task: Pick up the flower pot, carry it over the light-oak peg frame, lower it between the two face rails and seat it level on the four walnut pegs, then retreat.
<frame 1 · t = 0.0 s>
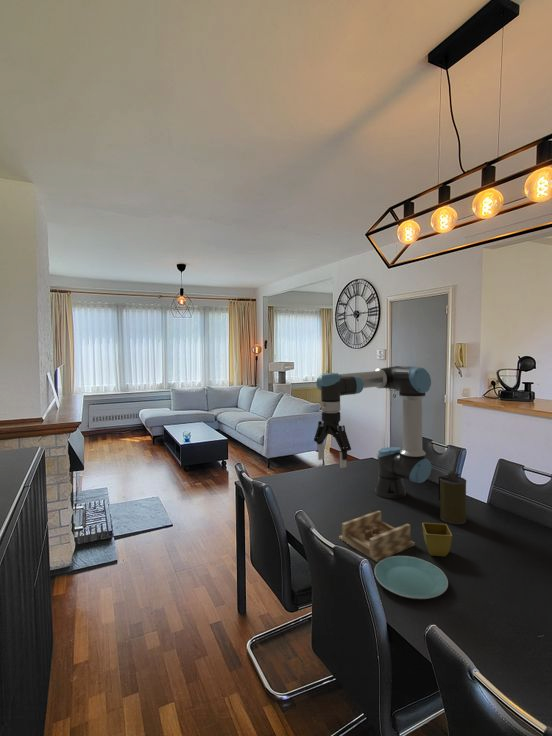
hand: (331, 463, 158), 28 cm above the table, fingers open, 13 cm apart
plate: (410, 583, 124), on the table
flower pot: (436, 553, 140), on the table
peg frame: (375, 541, 149), on the table
canister: (452, 519, 167), on the table
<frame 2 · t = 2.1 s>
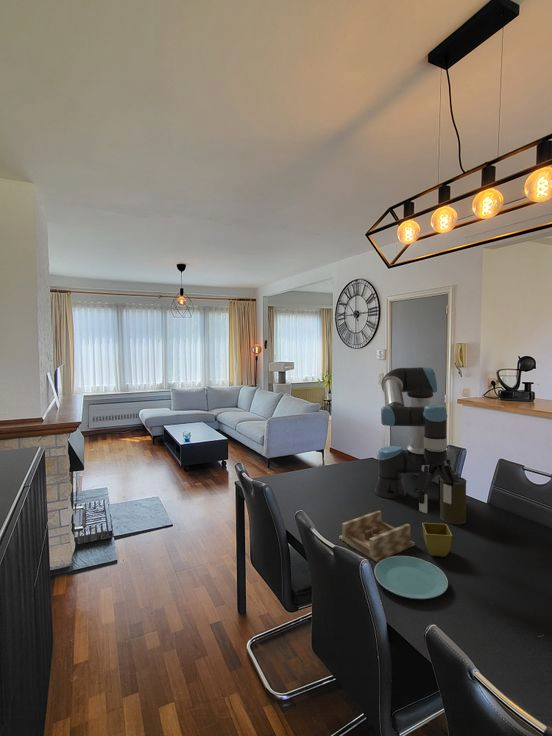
hand: (435, 507, 139), 17 cm above the table, fingers open, 13 cm apart
nothing on the table moved.
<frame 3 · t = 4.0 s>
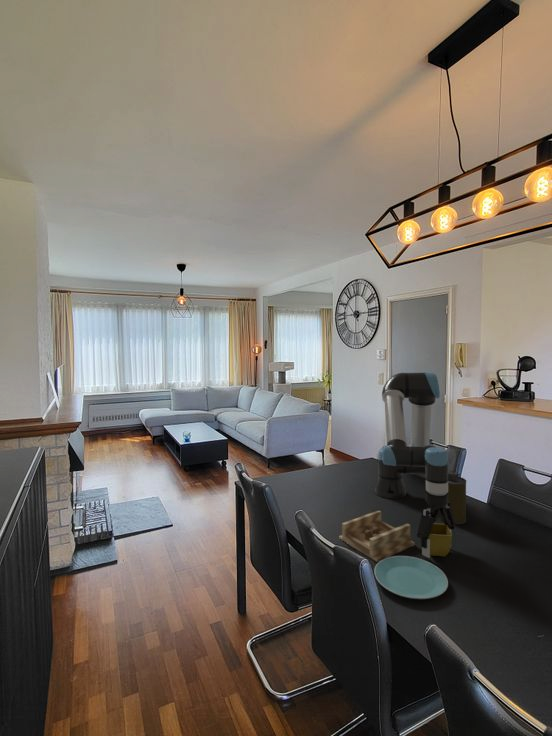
hand: (436, 550, 140), 1 cm above the table, fingers closed on flower pot, 12 cm apart
flower pot: (436, 553, 140), on the table, touching gripper
everything else where it was.
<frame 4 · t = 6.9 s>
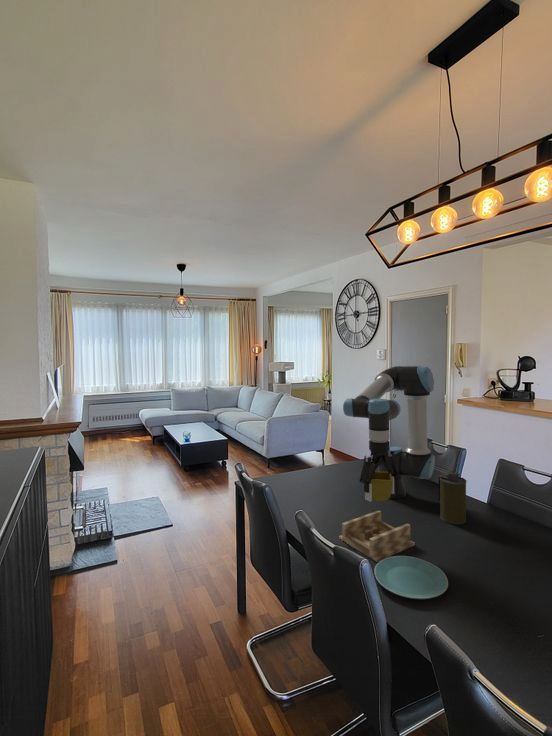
hand: (379, 496, 147), 18 cm above the table, fingers closed on flower pot, 12 cm apart
flower pot: (380, 499, 147), point 17 cm above the table, touching gripper
everything else where it was.
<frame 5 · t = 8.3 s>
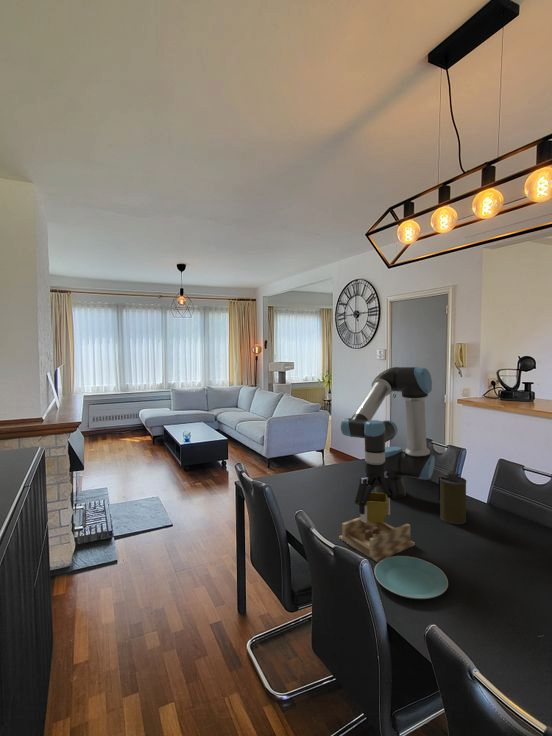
hand: (375, 517, 149), 10 cm above the table, fingers closed on flower pot, 12 cm apart
flower pot: (375, 520, 149), point 9 cm above the table, touching gripper
everything else where it was.
when the fingers open (6 cm above the table, at t = 9.6 s): flower pot drops 1 cm, resting on peg frame.
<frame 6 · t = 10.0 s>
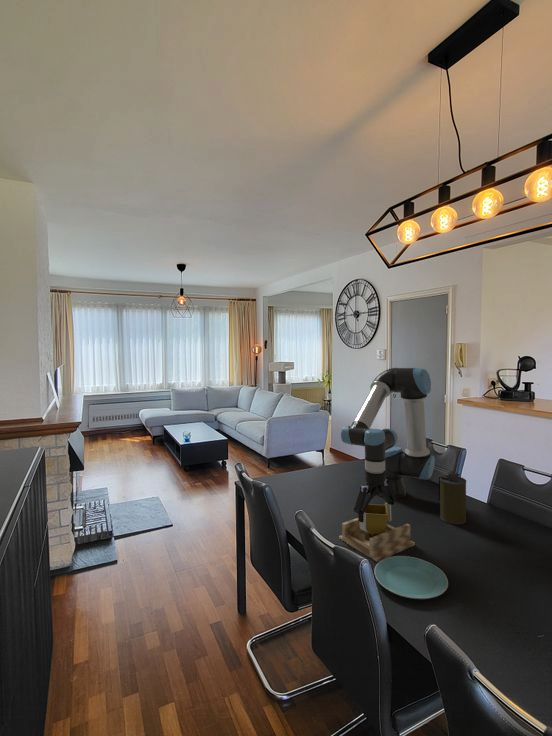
hand: (375, 524, 149), 7 cm above the table, fingers open, 13 cm apart
flower pot: (375, 532, 149), point 4 cm above the table, touching peg frame
everything else where it was.
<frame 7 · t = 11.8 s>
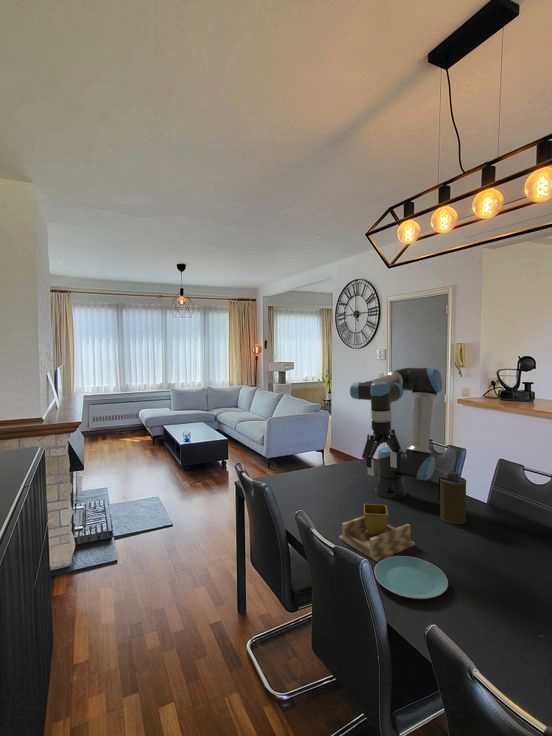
hand: (382, 471, 159), 24 cm above the table, fingers open, 13 cm apart
nothing on the table moved.
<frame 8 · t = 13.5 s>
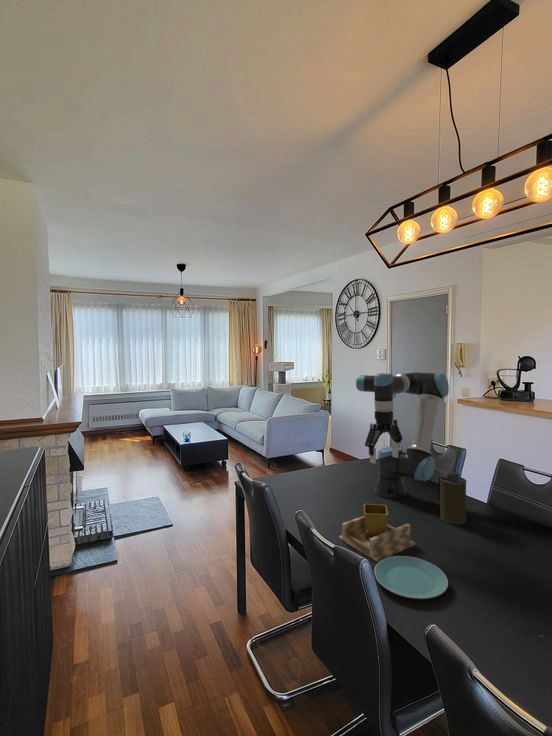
hand: (384, 459, 164), 27 cm above the table, fingers open, 13 cm apart
nothing on the table moved.
at the end: flower pot 0.1 cm off-centre on the peg frame, point 3.8 cm above the peg frame's base; flower pot tilted 0°; the gripper is holding nothing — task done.
